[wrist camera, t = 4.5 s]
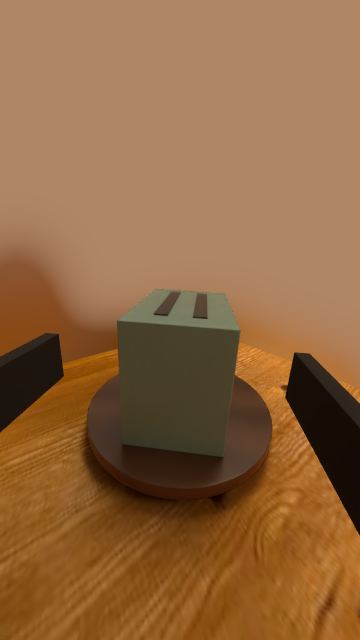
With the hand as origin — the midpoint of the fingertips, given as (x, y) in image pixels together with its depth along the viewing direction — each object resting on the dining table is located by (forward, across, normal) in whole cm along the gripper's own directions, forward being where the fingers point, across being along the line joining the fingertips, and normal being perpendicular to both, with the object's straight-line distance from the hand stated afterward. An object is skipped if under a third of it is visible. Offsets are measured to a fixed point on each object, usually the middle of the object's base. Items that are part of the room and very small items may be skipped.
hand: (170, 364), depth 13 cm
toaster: (+10, 0, -11) cm, 15 cm away
